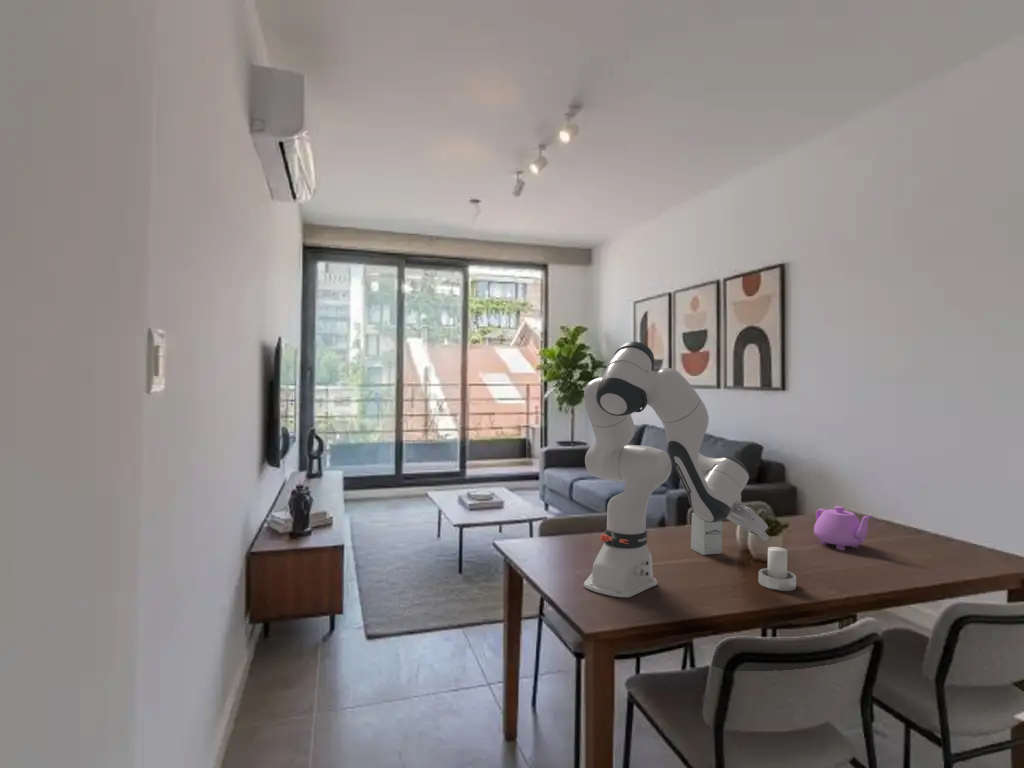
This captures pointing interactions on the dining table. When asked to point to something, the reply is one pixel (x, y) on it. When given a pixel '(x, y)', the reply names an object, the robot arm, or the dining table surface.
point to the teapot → (840, 527)
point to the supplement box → (706, 536)
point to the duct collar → (777, 581)
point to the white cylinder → (777, 562)
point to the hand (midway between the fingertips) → (756, 533)
